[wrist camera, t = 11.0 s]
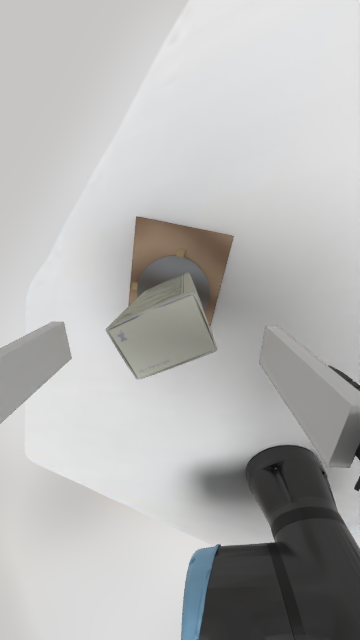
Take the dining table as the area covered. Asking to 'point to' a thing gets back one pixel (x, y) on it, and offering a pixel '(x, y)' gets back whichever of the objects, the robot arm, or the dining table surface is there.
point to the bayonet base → (182, 240)
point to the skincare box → (163, 328)
